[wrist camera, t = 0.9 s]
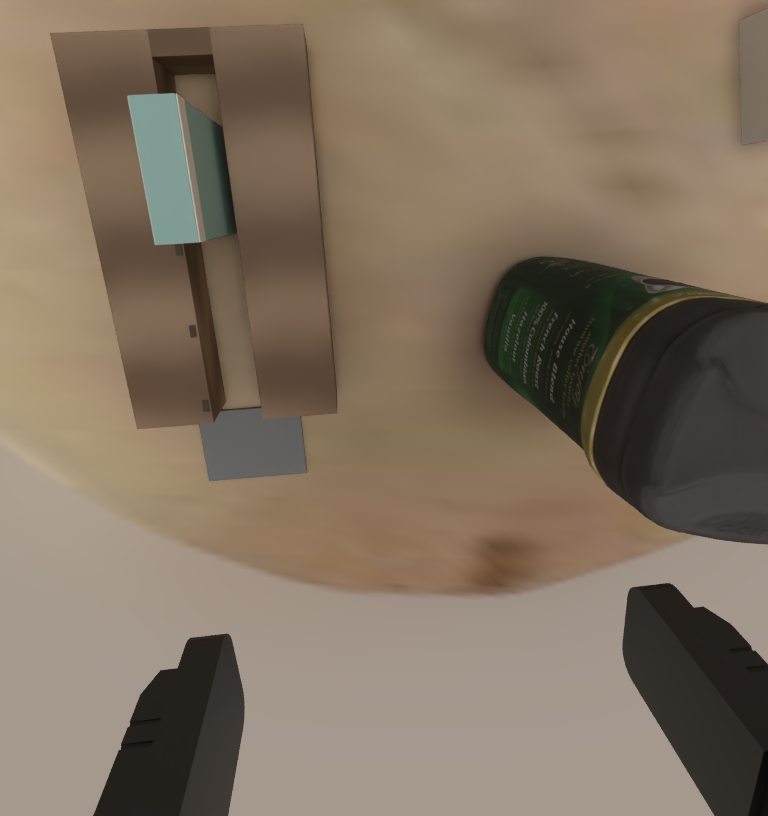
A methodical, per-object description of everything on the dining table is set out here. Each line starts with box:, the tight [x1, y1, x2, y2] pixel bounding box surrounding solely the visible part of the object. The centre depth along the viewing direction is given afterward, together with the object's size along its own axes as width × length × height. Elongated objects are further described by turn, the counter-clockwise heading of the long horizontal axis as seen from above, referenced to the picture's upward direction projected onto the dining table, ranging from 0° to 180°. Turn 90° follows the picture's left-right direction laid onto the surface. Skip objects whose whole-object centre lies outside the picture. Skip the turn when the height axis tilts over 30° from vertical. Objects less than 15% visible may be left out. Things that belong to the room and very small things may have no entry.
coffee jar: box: [485, 257, 768, 544], centre depth 25 cm, size 10×8×19 cm
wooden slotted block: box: [50, 24, 337, 429], centre depth 29 cm, size 18×11×4 cm, turn 3°
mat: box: [199, 407, 307, 481], centre depth 34 cm, size 4×6×1 cm
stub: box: [127, 93, 237, 245], centre depth 24 cm, size 5×2×9 cm, turn 3°
